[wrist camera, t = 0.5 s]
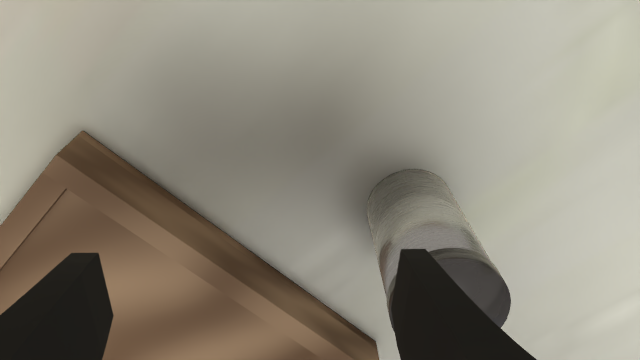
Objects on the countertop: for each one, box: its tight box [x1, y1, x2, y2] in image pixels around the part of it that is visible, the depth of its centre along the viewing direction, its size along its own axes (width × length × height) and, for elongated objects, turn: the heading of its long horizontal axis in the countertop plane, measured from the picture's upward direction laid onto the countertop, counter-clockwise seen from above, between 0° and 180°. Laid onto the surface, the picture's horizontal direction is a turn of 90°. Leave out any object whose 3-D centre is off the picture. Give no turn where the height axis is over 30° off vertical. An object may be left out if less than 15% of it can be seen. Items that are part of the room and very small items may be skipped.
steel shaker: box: [367, 169, 511, 332], centre depth 20 cm, size 4×4×7 cm
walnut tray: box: [0, 131, 379, 360], centre depth 25 cm, size 18×14×2 cm
